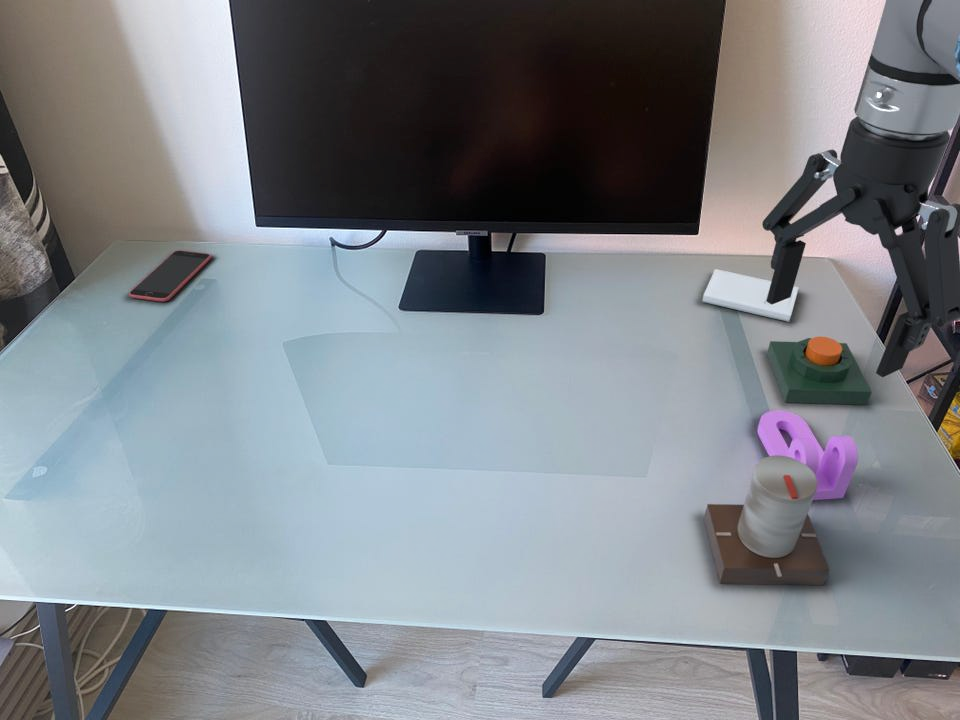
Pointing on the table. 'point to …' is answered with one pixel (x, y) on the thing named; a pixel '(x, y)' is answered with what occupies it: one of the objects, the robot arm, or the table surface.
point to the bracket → (811, 452)
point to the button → (823, 351)
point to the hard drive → (747, 295)
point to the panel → (755, 569)
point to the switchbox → (817, 376)
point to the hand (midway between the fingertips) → (830, 333)
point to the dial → (776, 505)
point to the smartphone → (170, 276)
